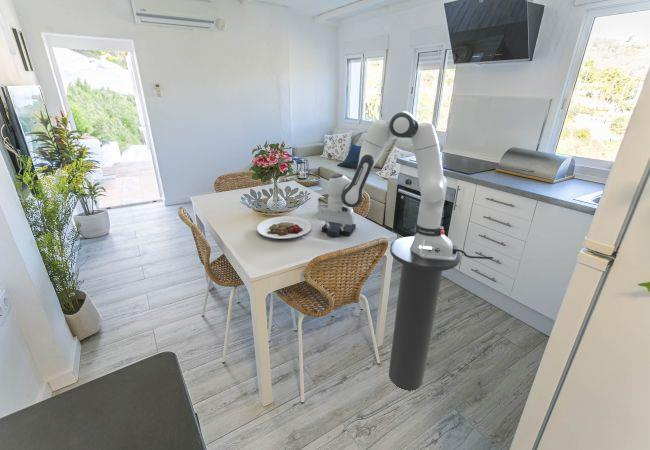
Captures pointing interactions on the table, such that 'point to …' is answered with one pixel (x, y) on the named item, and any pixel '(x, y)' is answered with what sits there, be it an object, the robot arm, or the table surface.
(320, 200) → the food container
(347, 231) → the black pad
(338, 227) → the grey pad
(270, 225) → the plated food
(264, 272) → the table surface
